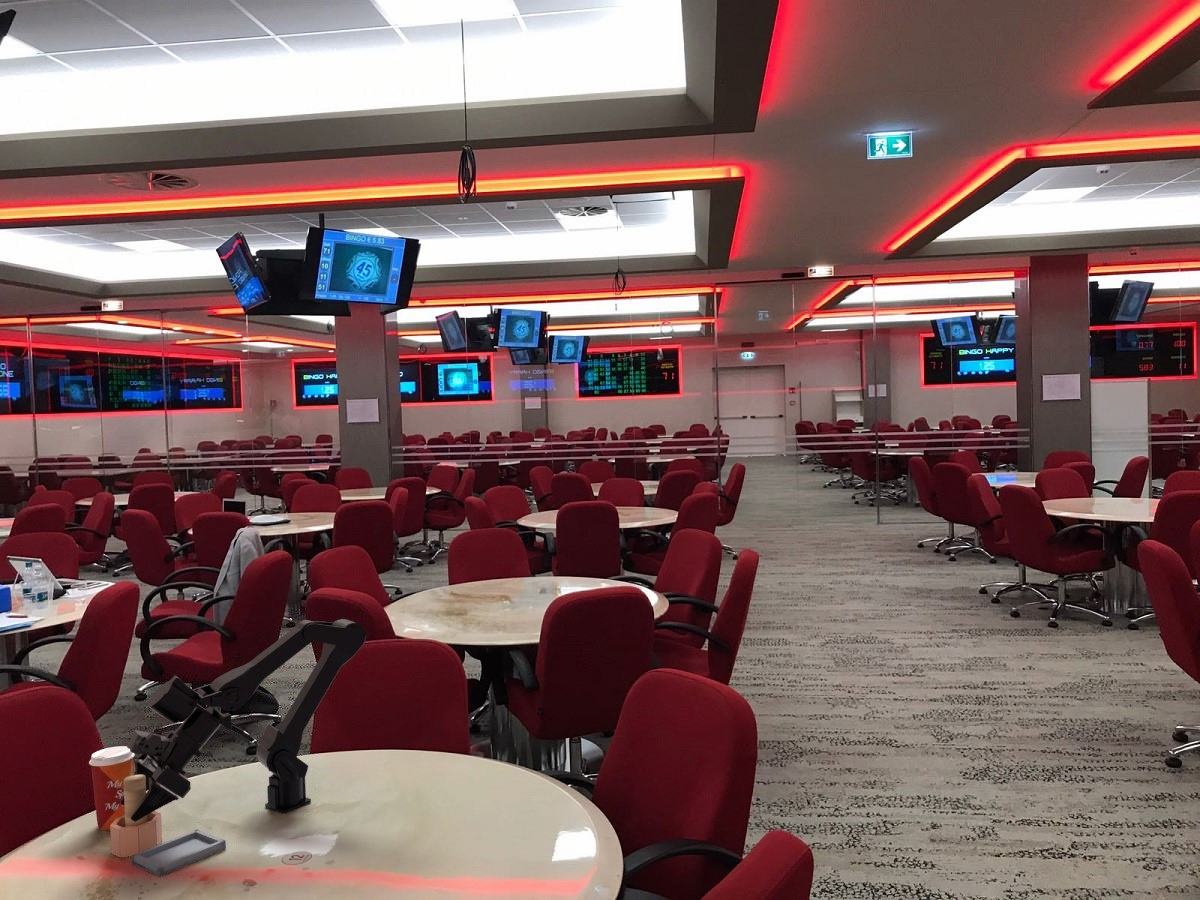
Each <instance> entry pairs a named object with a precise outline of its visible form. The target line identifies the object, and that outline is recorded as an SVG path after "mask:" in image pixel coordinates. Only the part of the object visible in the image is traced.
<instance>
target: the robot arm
mask: <svg viewBox="0 0 1200 900" xmlns="http://www.w3.org/2000/svg"><path fill="white" fill-rule="evenodd" d="M366 634H367V633H366V630H365V627H364V626H363V625H362V624H360V623H357V622H355V621H353V620H349V619H346V618H341V619H337V620H335V621H333V622H329V621H312V620H308V619H304V620H303V619H302V620H301V621H299V622H298V623H297V624H296V625H295V626H294V627H293V628H292V629H290V631H288V632H286V634H284V635H283V636H281V637H280V638H279V639H278V640H276V641H275V642H274V643H273V644H271V645H270V646H269V647H267V648H266V649H264V650H263V651H261V653H259V654H258V655H257V656H255V657H254V658H253V659H252V660H250V661H249V662H247V663H246V664H244V665H243V664H242V665H241V666H238V667H236V668H233V669H231V670H229V671H228V672H226V673H223V674H222V675H220V676H218V677H217V678H214V680H213V681H212V682H211V683H209V684H206V685H203V686H199V687H197V688H193V689H192V688H191V687H190V686H188V685H187V684H186V683H185V682H184V681H183V680H182V679H181V678H179V677H178V676H176V675H174V676H173V677H172V678H171V679H170V680H168V681H166V682H164V683H163V684H162V685H160V686H159V687H157V689H155V691H154V692H153V693H152V694H151V695H150V697H149V699H148V701H147V704H146V706H147V707H148V708H150V709H151V710H152V711H153V712H155V713H156V714H158V715H159V716H161V717H162V718H164V719H165V720H166V721H168V722H170V723H171V724H176V723H178V722H179V723H181V724H180V725H179V727H178V728H177V729H175V731H174V730H171V731H170V730H169V731H168V732H167V733H166V734H165V735H160V734H159V733H158V734H157V733H154V732H147V731H142V730H137V729H134V731H133V733H132V735H131V736H130V739H129V742H128V745H126V746H127V748H129V749H130V752H132V753H134V754H135V755H134V757H136V758H137V759H136V758H133V759H134V760H133V763H134V769H135V772H134V774H133V775H145V778H146V794H145V796H144V797H143V799H142V800H141V802H140V803H139V805H138V806H137V808H136V809H135V811H134V813H133V814H132V816H131V820H133V821H134V822H136V821H138V820H139V819H141V818H143V817H145V816H146V815H148V814H150V813H152V812H153V811H157V810H159V809H161V808H163V807H164V806H166V805H169V804H171V803H172V802H175V801H178V800H179V799H180V798H181V799H184V798H185V797H186V795H187V794H188V793H189V792H190V791H191V790H192V789H191V781H190V780H189V778H188V777H186V776H185V774H186V773H187V772H186V771H185V769H186V767H187V766H188V765H189V764H190V763H191V762H192V760H193V759H194V758H195V757H197V758H199V757H200V756H201V755H202V754H203V752H202V751H201V750H202V749H203V747H204V746H205V745H206V744H207V742H208V741H209V740H210V738H211V737H212V736H213V735H214V734H215V733H216V732H217V730H218V729H219V728H220V726H222V727H224V728H225V729H226V730H228V731H231V730H232V729H233V727H232V714H230V713H229V712H235V711H237V710H239V709H241V708H242V707H243V706H244V705H245V704H246V703H247V701H249V699H251V697H252V696H253V695H254V694H255V693H256V691H257V690H258V688H259V686H260V685H261V683H262V682H263V681H264V680H265V679H267V678H268V677H269V676H270V675H272V674H273V673H274V672H275V671H277V670H278V669H279V668H280V667H282V666H283V665H284V664H286V663H287V662H288V661H289V660H291V659H292V658H294V656H296V655H297V654H298V653H300V652H301V651H303V649H305V648H306V647H307V646H308V645H310V644H311V643H313V642H314V643H323V644H322V650H321V655H320V658H319V659H318V661H317V663H316V664H315V665H314V667H313V670H312V671H311V673H310V675H309V676H308V678H307V679H306V681H305V683H304V685H303V686H302V688H301V689H300V691H299V693H298V695H296V696H297V697H296V698H295V700H294V701H293V703H292V705H291V706H290V708H289V709H288V711H287V713H285V714H286V715H285V717H284V718H283V719H282V721H280V722H279V723H278V724H276V725H275V726H273V725H272V724H270V723H269V724H268V725H267V726H266V728H265V730H264V732H263V735H262V736H261V738H259V739H258V740H257V741H256V743H257V744H258V745H257V748H256V753H255V754H256V756H257V760H258V761H259V762H260V764H261V765H263V767H265V768H266V769H267V770H268V771H269V772H271V773H272V775H270V776H268V785H267V790H266V791H267V802H266V803H265V804H264V807H265V808H268V809H271V810H273V811H276V812H281V813H283V814H285V813H287V812H290V811H292V810H294V809H297V808H299V807H302V806H304V805H306V804H309V803H311V802H312V799H311V798H309V797H307V791H306V788H307V787H306V776H307V773H308V770H309V765H308V764H307V763H306V762H304V761H303V760H301V758H299V757H298V755H299V753H300V749H301V747H302V741H303V735H304V732H305V730H306V728H307V727H308V724H309V723H310V721H311V719H312V717H313V716H314V714H315V712H316V710H317V709H318V708H319V705H320V704H321V702H322V700H323V698H324V697H325V696H326V694H327V692H328V690H329V688H330V686H331V685H332V684H333V681H334V679H336V676H337V675H338V673H339V672H340V669H341V668H342V667H343V666H344V665H345V664H346V663H348V662H349V661H350V660H351V659H352V658H354V657H355V655H356V654H357V653H358V652H359V650H360V649H361V648H362V647H363V646H364V644H365V642H366V639H367V635H366ZM199 702H201V703H202V704H204V705H205V706H206V708H204V707H202V706H201V705H200V704H198V703H199ZM216 707H217V708H220V709H221V710H222V711H226V713H222V712H220V711H219V710H218V709H217V708H216ZM120 803H121V804H122V805H124V796H123V798H122V800H121V802H120ZM124 806H125V805H124Z"/></svg>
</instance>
